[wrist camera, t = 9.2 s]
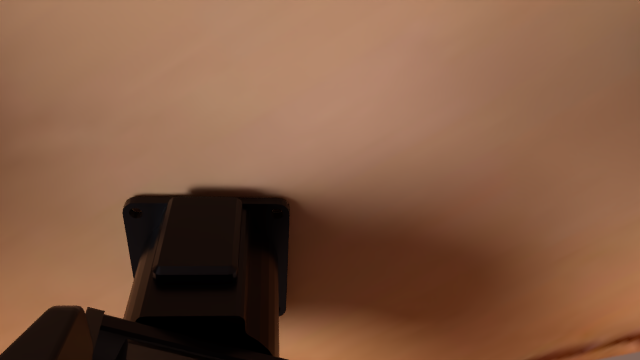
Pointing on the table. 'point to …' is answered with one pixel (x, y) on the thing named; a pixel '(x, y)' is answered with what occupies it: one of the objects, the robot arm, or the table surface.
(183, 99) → the table surface
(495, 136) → the table surface
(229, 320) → the robot arm
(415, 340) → the table surface
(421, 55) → the table surface
